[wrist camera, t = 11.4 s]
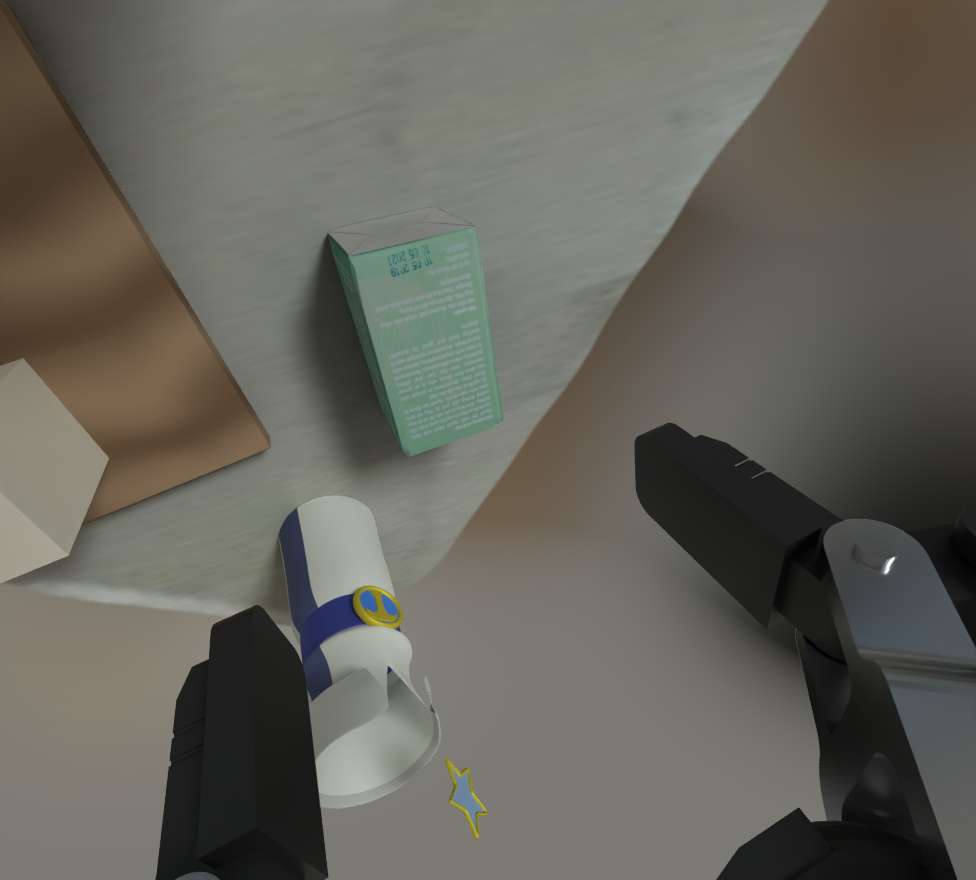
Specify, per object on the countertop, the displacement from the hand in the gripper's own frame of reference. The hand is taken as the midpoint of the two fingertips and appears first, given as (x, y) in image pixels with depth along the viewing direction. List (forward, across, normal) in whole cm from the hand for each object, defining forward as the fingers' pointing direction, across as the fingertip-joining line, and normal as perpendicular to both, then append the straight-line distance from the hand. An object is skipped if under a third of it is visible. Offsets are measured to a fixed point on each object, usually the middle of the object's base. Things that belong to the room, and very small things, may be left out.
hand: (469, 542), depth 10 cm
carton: (+25, +19, +4) cm, 32 cm away
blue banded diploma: (+27, +8, +20) cm, 35 cm away
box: (+27, -4, +6) cm, 28 cm away
